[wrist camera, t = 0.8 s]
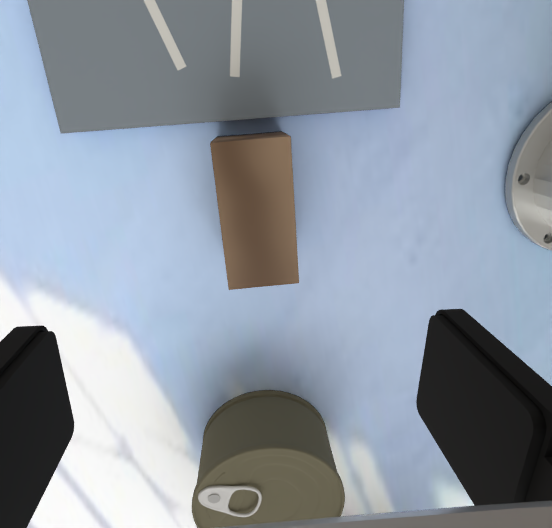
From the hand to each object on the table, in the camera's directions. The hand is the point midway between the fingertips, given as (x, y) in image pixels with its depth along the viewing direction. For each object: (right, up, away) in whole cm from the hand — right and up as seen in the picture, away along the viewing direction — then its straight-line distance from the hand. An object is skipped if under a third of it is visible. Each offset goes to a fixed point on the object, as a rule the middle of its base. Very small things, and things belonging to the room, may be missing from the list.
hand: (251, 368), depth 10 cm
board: (-3, +18, +15) cm, 24 cm away
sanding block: (-1, +7, +20) cm, 21 cm away
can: (0, -14, +28) cm, 31 cm away
